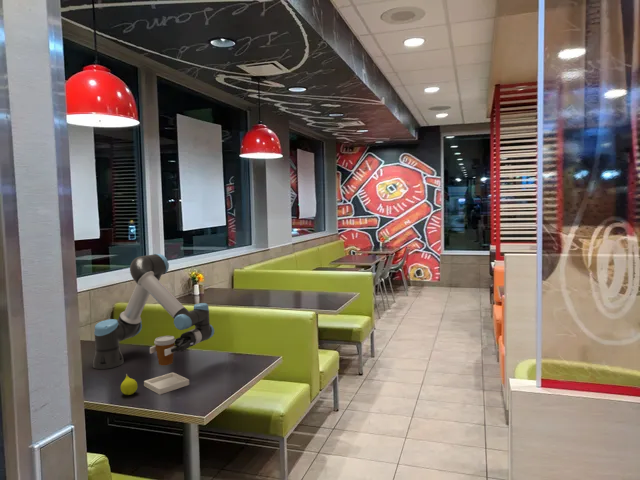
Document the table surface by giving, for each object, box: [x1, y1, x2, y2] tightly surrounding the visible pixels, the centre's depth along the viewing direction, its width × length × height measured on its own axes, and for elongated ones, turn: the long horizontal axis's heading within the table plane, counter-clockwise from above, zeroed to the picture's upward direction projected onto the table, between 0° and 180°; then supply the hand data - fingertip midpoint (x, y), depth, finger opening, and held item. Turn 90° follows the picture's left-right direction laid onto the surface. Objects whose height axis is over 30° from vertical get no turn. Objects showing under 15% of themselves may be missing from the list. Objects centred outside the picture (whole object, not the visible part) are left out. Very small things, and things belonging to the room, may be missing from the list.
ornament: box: [120, 373, 138, 396], centre depth 209 cm, size 7×7×10 cm
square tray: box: [143, 372, 190, 396], centre depth 219 cm, size 15×15×2 cm
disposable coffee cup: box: [153, 335, 176, 366], centre depth 218 cm, size 10×10×12 cm
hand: (157, 351), depth 213 cm, fingers closed on disposable coffee cup, 8 cm apart
